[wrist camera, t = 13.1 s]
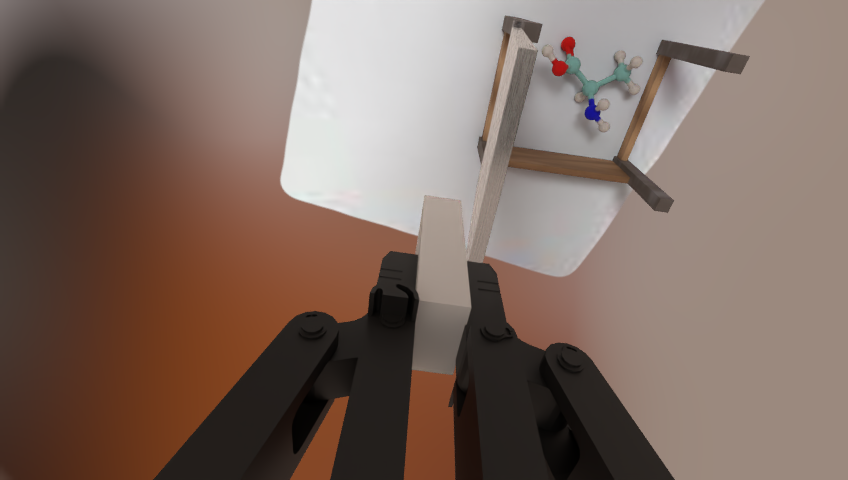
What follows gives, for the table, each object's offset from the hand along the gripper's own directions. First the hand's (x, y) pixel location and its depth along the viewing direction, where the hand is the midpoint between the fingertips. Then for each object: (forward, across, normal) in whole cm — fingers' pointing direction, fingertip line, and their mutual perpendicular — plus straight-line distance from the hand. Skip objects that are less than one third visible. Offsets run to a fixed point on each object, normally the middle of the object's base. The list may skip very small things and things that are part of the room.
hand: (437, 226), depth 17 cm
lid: (+14, +5, 0) cm, 15 cm away
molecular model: (+39, +18, +2) cm, 43 cm away
